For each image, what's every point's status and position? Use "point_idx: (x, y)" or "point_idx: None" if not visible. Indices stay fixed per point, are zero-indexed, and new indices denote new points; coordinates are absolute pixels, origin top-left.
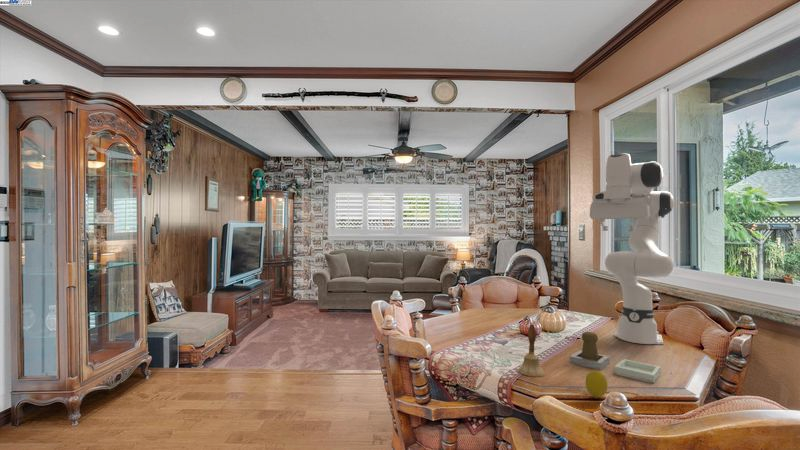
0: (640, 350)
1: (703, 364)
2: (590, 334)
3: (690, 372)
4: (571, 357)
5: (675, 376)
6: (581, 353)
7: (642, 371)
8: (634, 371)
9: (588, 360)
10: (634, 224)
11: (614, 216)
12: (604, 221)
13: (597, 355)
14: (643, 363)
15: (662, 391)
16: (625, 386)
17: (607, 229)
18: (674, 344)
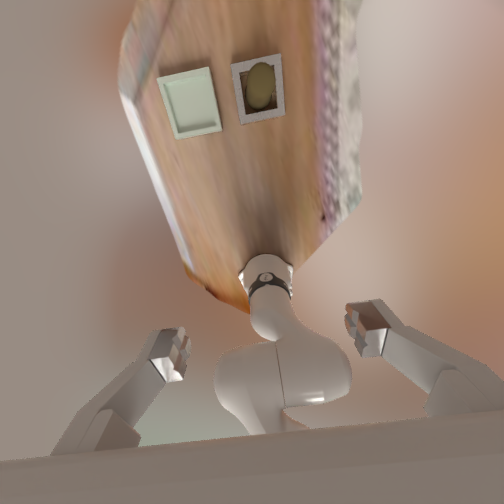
0: (243, 229)
1: (176, 232)
2: (256, 67)
3: (166, 185)
4: (277, 54)
5: (165, 148)
6: (277, 101)
7: (190, 115)
8: (181, 73)
9: (249, 60)
10: (123, 376)
11: (318, 472)
12: (427, 405)
13: (247, 92)
14: (195, 133)
15: (136, 51)
16: (171, 14)
17: (348, 325)
18: (231, 285)
